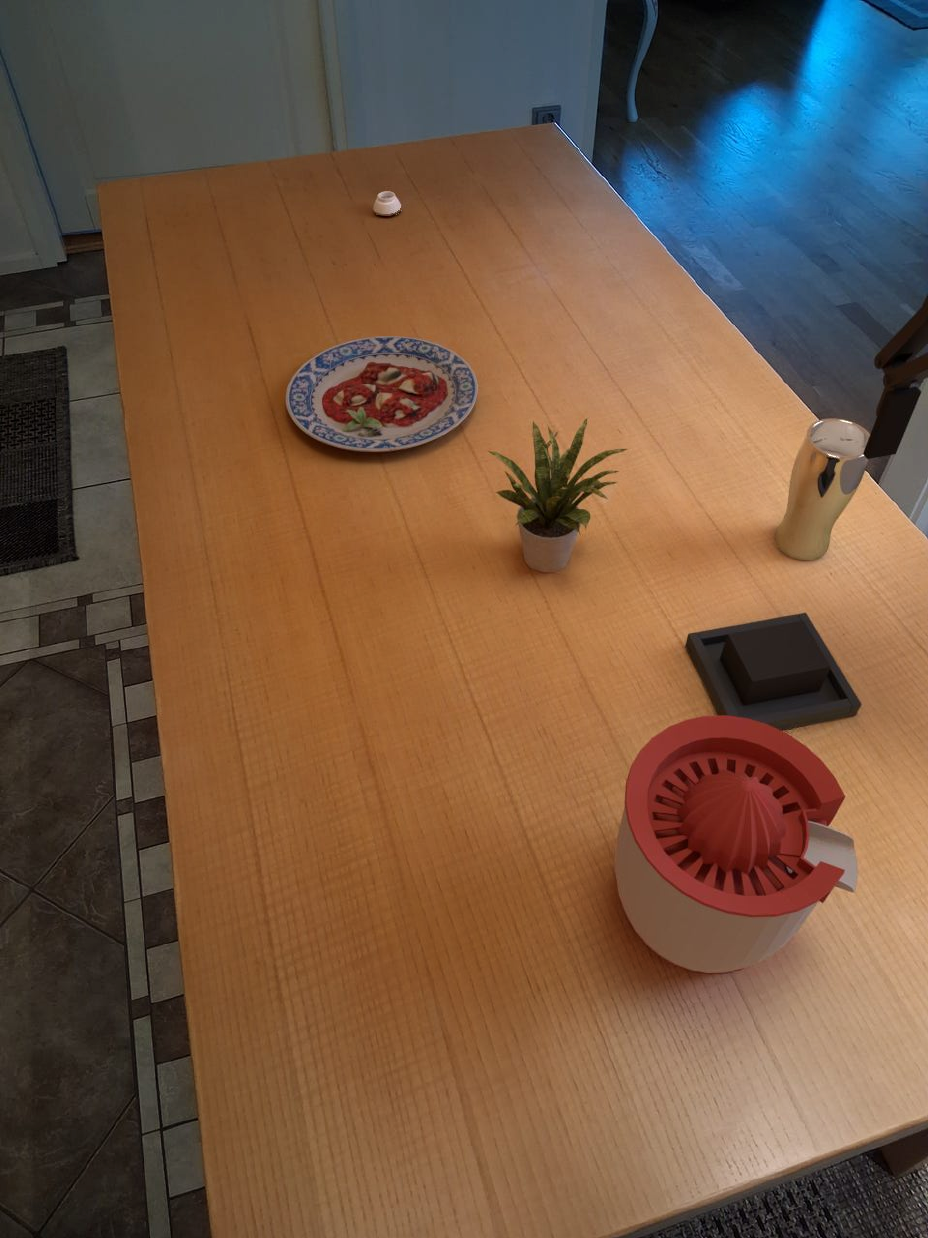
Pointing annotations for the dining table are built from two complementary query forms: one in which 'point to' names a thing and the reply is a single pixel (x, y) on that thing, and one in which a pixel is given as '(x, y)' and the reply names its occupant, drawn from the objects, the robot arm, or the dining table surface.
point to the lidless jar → (386, 203)
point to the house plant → (553, 500)
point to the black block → (774, 662)
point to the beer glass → (821, 486)
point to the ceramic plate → (381, 393)
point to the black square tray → (779, 713)
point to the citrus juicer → (727, 842)
